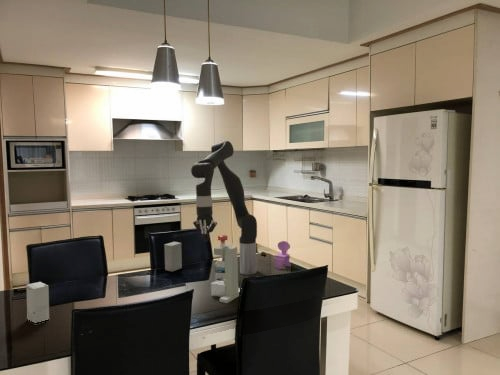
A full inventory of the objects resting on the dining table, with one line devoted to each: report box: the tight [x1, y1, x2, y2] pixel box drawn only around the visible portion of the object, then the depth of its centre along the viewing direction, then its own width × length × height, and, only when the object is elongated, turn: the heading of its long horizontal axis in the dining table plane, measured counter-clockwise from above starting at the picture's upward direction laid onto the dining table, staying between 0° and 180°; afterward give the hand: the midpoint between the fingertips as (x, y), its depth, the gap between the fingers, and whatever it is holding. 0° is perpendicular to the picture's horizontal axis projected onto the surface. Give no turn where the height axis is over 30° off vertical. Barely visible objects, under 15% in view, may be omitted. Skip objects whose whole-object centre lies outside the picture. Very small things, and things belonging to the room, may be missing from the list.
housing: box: [210, 279, 226, 298], centre depth 185 cm, size 5×8×8 cm, turn 61°
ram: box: [215, 234, 228, 268], centre depth 183 cm, size 5×5×14 cm
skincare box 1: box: [26, 281, 50, 323], centre depth 160 cm, size 8×6×15 cm
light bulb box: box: [214, 262, 225, 281], centre depth 206 cm, size 11×7×11 cm, turn 169°
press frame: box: [213, 244, 241, 304], centre depth 182 cm, size 16×9×23 cm, turn 151°
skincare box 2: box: [163, 241, 183, 273], centre depth 232 cm, size 8×7×16 cm
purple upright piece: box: [274, 240, 292, 270], centre depth 230 cm, size 8×9×15 cm
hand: (205, 241), depth 187 cm, fingers closed
